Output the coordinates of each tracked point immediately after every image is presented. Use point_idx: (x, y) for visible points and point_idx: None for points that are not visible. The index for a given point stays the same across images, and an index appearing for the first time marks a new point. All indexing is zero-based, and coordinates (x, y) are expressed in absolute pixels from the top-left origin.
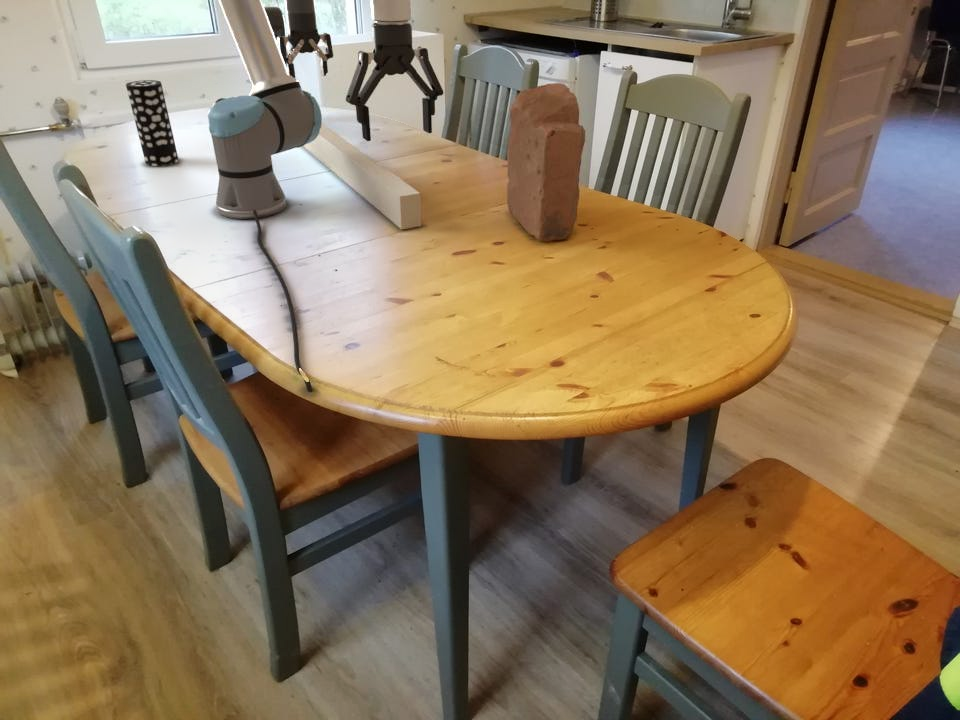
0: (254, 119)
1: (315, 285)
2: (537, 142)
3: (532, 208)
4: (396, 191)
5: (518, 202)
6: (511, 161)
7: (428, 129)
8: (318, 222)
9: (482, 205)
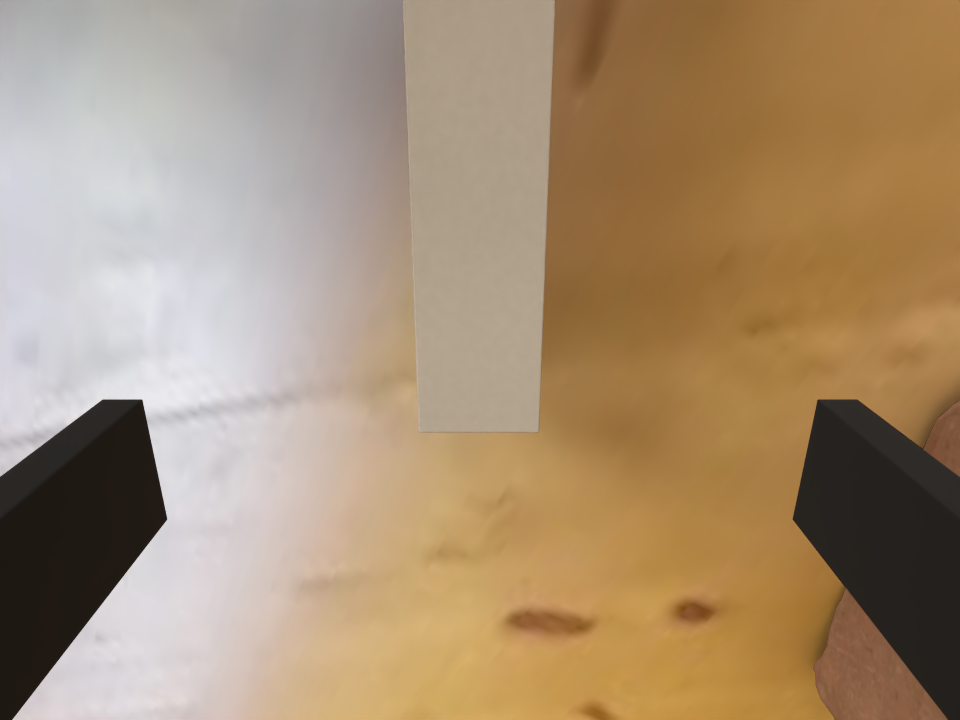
0: None
1: None
2: None
3: (892, 704)
4: (432, 356)
5: None
6: None
7: (812, 539)
8: (89, 90)
9: (917, 255)
